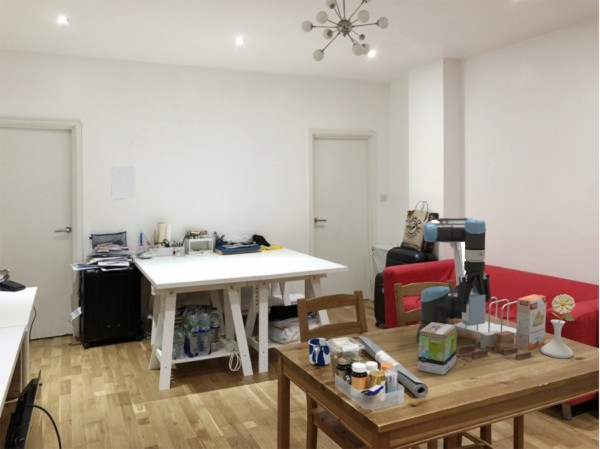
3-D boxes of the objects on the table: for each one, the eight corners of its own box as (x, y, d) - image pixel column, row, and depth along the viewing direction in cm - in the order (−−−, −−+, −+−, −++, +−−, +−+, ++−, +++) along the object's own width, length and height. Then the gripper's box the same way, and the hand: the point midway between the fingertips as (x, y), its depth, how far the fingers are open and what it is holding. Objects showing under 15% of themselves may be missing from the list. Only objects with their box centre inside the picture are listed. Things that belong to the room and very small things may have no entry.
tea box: (445, 376, 175) (445, 334, 174) (417, 370, 181) (417, 330, 180) (456, 363, 188) (457, 324, 187) (430, 358, 194) (430, 320, 192)
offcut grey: (480, 347, 202) (480, 333, 202) (496, 344, 206) (496, 330, 206) (487, 350, 199) (487, 335, 199) (503, 346, 203) (503, 332, 203)
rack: (473, 349, 204) (473, 342, 204) (494, 344, 209) (494, 337, 209) (514, 364, 186) (514, 356, 186) (536, 359, 191) (536, 351, 191)
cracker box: (529, 352, 199) (531, 300, 197) (515, 349, 203) (516, 298, 202) (545, 345, 208) (547, 295, 206) (531, 342, 212) (532, 293, 211)
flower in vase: (533, 353, 198) (535, 291, 196) (555, 350, 202) (557, 288, 200) (561, 364, 186) (563, 297, 184) (584, 360, 190) (586, 295, 188)
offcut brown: (493, 351, 198) (494, 332, 197) (506, 348, 201) (506, 330, 200) (501, 354, 194) (501, 335, 194) (513, 351, 198) (514, 332, 197)
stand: (455, 356, 195) (455, 347, 195) (474, 352, 200) (474, 343, 200) (471, 362, 188) (471, 353, 188) (490, 358, 193) (490, 349, 193)
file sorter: (451, 329, 233) (452, 296, 232) (472, 322, 244) (473, 291, 243) (502, 341, 214) (502, 305, 213) (522, 334, 225) (523, 299, 223)
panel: (462, 323, 193) (463, 295, 192) (477, 321, 196) (478, 293, 195) (469, 326, 190) (469, 297, 189) (484, 323, 193) (485, 295, 192)
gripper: (461, 263, 183) (460, 325, 185) (501, 259, 193) (500, 318, 194) (446, 261, 190) (446, 320, 191) (486, 257, 199) (485, 313, 201)
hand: (473, 319), depth 193 cm, fingers closed on panel, 8 cm apart
